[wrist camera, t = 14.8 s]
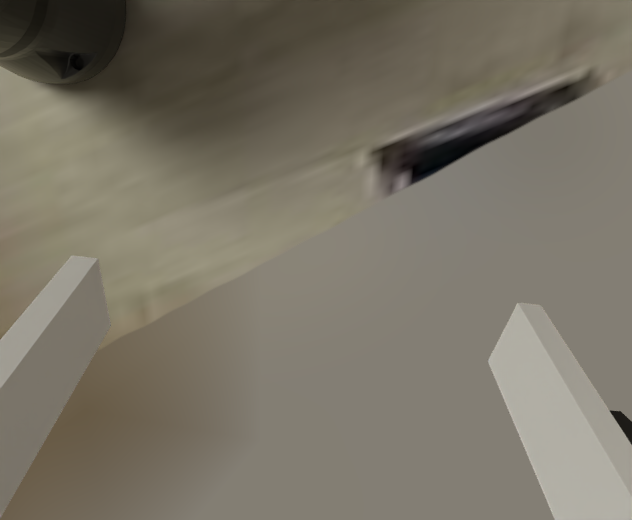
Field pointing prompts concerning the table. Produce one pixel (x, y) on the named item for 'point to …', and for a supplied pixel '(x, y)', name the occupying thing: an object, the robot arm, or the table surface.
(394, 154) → the table surface
